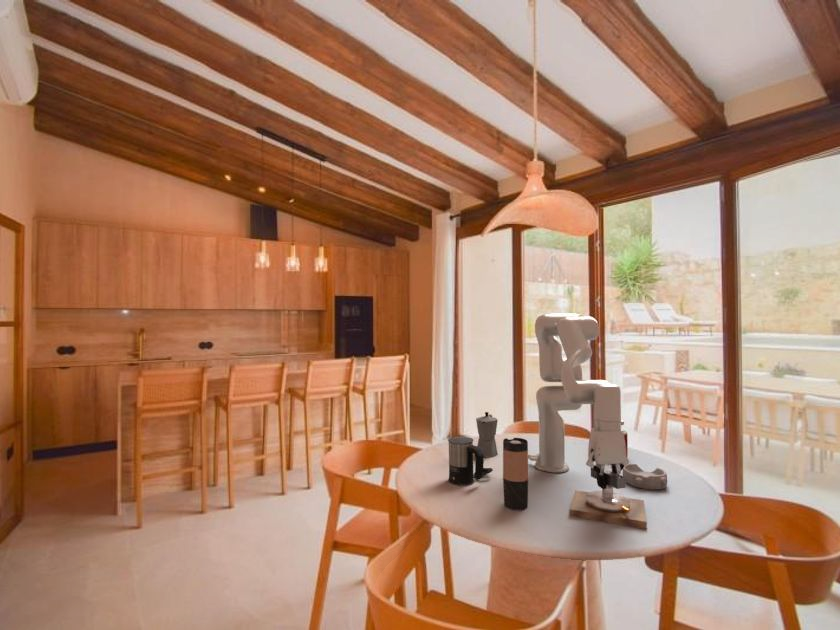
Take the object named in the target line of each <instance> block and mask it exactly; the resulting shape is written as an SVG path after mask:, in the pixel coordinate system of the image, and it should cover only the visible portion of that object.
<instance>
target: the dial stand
mask: <svg viewBox="0 0 840 630" xmlns="http://www.w3.org/2000/svg"><path fill="white" fill-rule="evenodd" d="M590 492H591V491H582V490H578V489H575V490H574V493H573V497H572V500H571V502H570V507H569V517H573V518H579V519H585V520H590V521H597V522H603V523H608V524H614V525H620V526H625V527H631V528H637V529H642V530H647V529H648V528H647V524H648V523H647V515H646V513H647V512H646V507H645V505H646V504H645V500H643V499H636V498H630V497H627V498H628V499H629V501H630V512H629V513H627V512H625V511H624V512H607V511H602V510H599V509H596V508H593V507H591V506H590V505H588V504H587V502H586V495H587V494H588V493H590Z"/></svg>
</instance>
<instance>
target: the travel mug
mask: <svg viewBox="0 0 840 630" xmlns="http://www.w3.org/2000/svg"><path fill="white" fill-rule="evenodd" d="M528 447H529V443H528V440H527V439H525V438H522V437H521V438H520V437H513V438H511V439H508V437H507V438H504V439H503V441H502V485H503V488H502V489H503V504H504V507H505V508H507V509H509V510H513V511H524V510H526V509H527V508H528V504H529V459H528V454H529V448H528Z"/></svg>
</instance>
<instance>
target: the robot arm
mask: <svg viewBox="0 0 840 630" xmlns="http://www.w3.org/2000/svg"><path fill="white" fill-rule="evenodd" d="M534 333H535V338H536V340H537V344H538V350H539V351H538V357H539V359H538V360H539V361H538V363H539V366H538V367H539V376H540V379H541V380H542V381H543V382H545V383H561V385H545V386H542V387H540V388H538V390H537V391H536V395H535V399H536V405H537V412H538V440H539V441H538V453H537V454H532V453H528V460H529V461H532V462H533V461H534V462H535V464H534V467H535V468H536V469H538V470H540V471H543V472H547V473H554V474H556V473H565V472H567V471H569V469H570V466H569V464H568V463H566V458H565V456H566V455H565V422H564V421H565V420H564V419H563V418H562V416H561V415H560V413H559V412H561V411H577V410H579V409H580V408H581V407H582V405H593V428H591V429H590V433H589V437H588V438H589V439H588V448H587V452H588V453H587V458H588V459H587V460H586V462H585V465H586V466H587V467H589V468H590V469H591V468H592V469H593V470H594V471H595V472H596V473H597V479H596V484H597V486H598V487H599V488H600V489H605V488H606V476H605V475H604V468H605V466H608V465H610V467H611V471H612V472H614V473H617V474H619V475H621V474H622V471H623V468H624V466H626V465H627V464H630V461H629V459H628V457H626V446H625V439H624V434H623V429H622V426H624V425H625V422H624V420H622V409H621V408H622V406H621V405H622V403H621V402H622V401H621V397H622V395H621V387H620V386H619V385H618V384H615V383H610V381H607V380H604V379H583V369H582V366H581V364H584V363H586V362H587V361H588V360H589V359H590V358H592V355H593V349H592V347H591V345H590V343H589V341H595V340H596V339H597V338H598V337H599V335H600V326H599V323H598V321H597V320H596V319H595V318H594V317H593V316H588V315H584V314H581V313H544V314H541V315H539V316H538V317H536V320H535V323H534ZM556 336H557V337H558V338H559V340H560V341H559V340H558V338H557V337H556ZM562 351H564V354H565V356H566V357H563V354H562V353H563V352H562ZM594 462H595V464H594ZM605 469H606V468H605Z"/></svg>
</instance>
